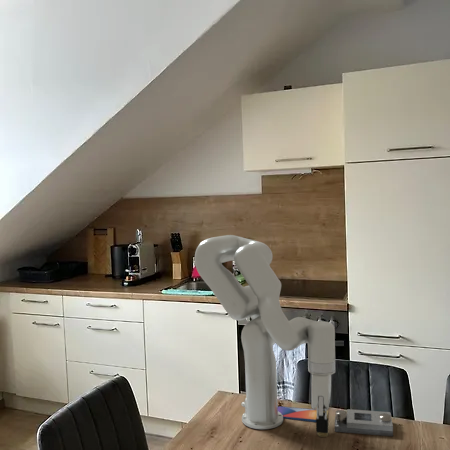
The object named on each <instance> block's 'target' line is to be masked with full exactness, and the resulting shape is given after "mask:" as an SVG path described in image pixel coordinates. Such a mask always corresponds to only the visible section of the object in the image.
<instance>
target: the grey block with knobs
mask: <svg viewBox="0 0 450 450" xmlns="http://www.w3.org/2000/svg"><path fill="white" fill-rule="evenodd" d="M334 432H337V433H348V434H359V435H371V436H382V437H383V436H384V437H394V425H393V418H392V414H391V412H390V411H381V410H379V411H377V410H362V409H352V408H351V409H349V408H348V409H346V410H342V409H340V410H336V411H335V416H334Z"/></svg>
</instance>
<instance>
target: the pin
mask: <svg viewBox="0 0 450 450" xmlns="http://www.w3.org/2000/svg"><path fill="white" fill-rule="evenodd" d="M323 401H324V398H323ZM318 407H319V406H318ZM323 408H325V407H324V406H323ZM323 412H324V413H325V411H323ZM328 415H329V409H328V410H327V419H328ZM316 435H317V436H318V437H321V438H327V437H329V432H328V433H320V432H317V431H316Z"/></svg>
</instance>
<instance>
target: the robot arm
mask: <svg viewBox="0 0 450 450" xmlns="http://www.w3.org/2000/svg"><path fill="white" fill-rule="evenodd" d="M194 253H195V254H194V265H195V268H196V271H197V273H198V274H199V276H200V277H201V279H202V280H203V281H204V283H205V284H206V286H208V288H210V290H211V291H212V293H213V294H214V296H215V297H216V299H217V301H218V302H219V303H220V304H221V306H222V308H223V309H224V310H225V312H226V313H227V315H228V316H229V317H230V318H231V319H233V320H235V321H244V320H246V319H249V318H251V320H249V321H248V322H246V324H245V325H244V326H243V328H242V330H241V335H240V339H241V345H242V349H243V356H244V357H243V358H244V369H245V370H244V373H245V399H244V401H242V402H241V404H240V405H241V406H242V407H243V408H244V409H245V411H244V413H243V414H242V415H241V421H242V423H243V424H244V426H246V427H248V428H251V429H254V430H270V429H274V428H278V427H280V425H282V424H283V422H284V418H283V415H282V414H281V413H280V412H278V378H277V377H278V376H277V374H278V372H277V371H278V370H277V360H276V359H277V358H276V356H275V352H274V348H273V347H274V345H276V346H277V347H279V349H280V348H281V350H282V351H283V350H284V351H287V352H289V351H293V350H295V349H297V348H299V347H301V345H304V344H307V357H308V358H307V366H308V367H307V369H308V370H307V371H308V372H309V374H311V384H310V385H311V394H310V395H311V400H310V401H311V405H310V407H311V408H310V409H316V410H317V418H316V422H315V429H316V433H317V432H320V433H328V434H329V425H330V423H329V422H330V421H329V415H330V414H328V419H327V410H328V411H329V409H330V403H331V394H332V375H334V374H335V373H336V340H335V339H336V333H335V332H336V330H335V326H334V324H333V323H331V322H329V321H326V320H325V321H324V320H317V321H316V320H314V319H313V320H312V319H310V318H306V317H301V316H297V317H294V318H292V319H290V320H289V319H288V317H287V316H286V314H285V313H284V312H283V309H282V306H281V303H280V296H281V295H280V294H281V290H282V282H281V281H280V279H279V278H278V276H277V275H276V273H275V271H274V270H273V269H272V267H271V264H272V262H273V256H274V255H273V252H272V249H271V248H270V247H269V246H268V245H267V244H266V243H264V242H261V241H258V240H254V239H251V238H245V237H242V236H238V235H234V234H226V235H219V236H214V237H213V236H212V237H210V238H206V239H204V240H202V241H201V242H200V243H198V246H196V249H195V252H194ZM231 261H233V262H234V264H235V266H236V267H237V269H238V271H239V272H240V274H241V276H242V277H243V278H244V280H245V282H246V283H247V284H248V285H245V286H243V285H242V284H241V283H240V282H239V280H238V279H237V278H236V276H235V274H233V273H232V272H231V271H230V270H229V269H228V268H226V267H225V266H224V265H223V263H226V262H227V263H228V262H231ZM323 398H324V401H323ZM318 406H319V407H318ZM323 406H324V407H325V408H323ZM323 411H325V413H324V412H323Z"/></svg>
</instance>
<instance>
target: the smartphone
mask: <svg viewBox="0 0 450 450" xmlns="http://www.w3.org/2000/svg"><path fill="white" fill-rule="evenodd" d="M278 412H280V413H281V414H282V415H283V420H284V419H285V420H293V421H303V422H312V423H316V418H317V408H316V409H312V408H303V407H302V408H301V407H292V406H284V405H283V406H282V405H281V406H278Z"/></svg>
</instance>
